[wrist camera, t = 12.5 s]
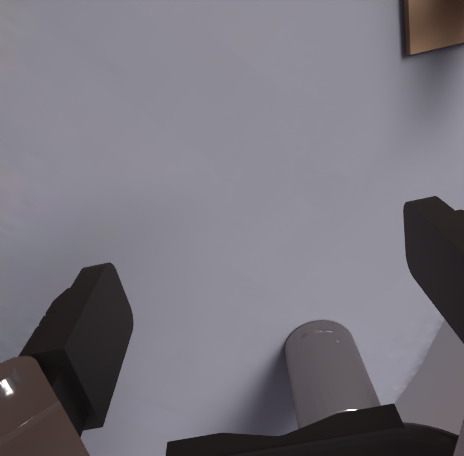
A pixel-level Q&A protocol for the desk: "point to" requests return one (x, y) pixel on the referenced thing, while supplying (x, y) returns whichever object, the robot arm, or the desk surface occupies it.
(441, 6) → the post base
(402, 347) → the desk surface
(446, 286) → the robot arm
